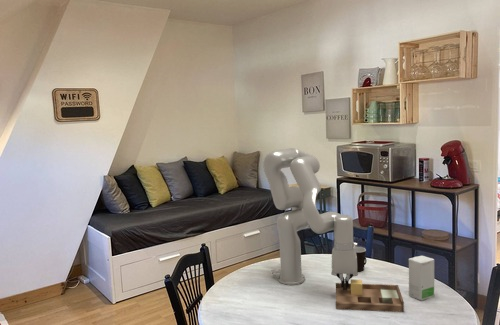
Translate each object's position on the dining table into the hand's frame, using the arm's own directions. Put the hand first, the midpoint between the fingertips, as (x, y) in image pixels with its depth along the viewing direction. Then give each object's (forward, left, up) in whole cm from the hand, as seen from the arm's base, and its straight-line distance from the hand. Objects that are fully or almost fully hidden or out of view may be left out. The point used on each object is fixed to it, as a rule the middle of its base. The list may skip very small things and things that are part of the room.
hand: (345, 288), depth 173 cm
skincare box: (+30, +4, -4) cm, 31 cm away
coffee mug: (+6, +29, -4) cm, 30 cm away
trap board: (+9, -3, -4) cm, 10 cm away
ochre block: (+4, 0, -1) cm, 5 cm away
